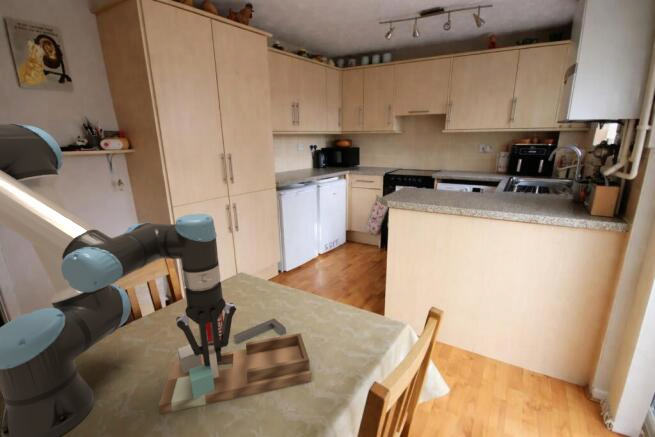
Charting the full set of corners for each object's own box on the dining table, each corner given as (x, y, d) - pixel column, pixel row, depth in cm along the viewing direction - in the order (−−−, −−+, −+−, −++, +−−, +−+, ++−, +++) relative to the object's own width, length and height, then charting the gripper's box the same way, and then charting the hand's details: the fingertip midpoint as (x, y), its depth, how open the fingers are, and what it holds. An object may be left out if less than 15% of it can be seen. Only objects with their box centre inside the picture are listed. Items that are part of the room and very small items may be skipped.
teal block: (193, 398, 69) (191, 381, 68) (191, 385, 73) (188, 369, 72) (214, 390, 72) (212, 374, 71) (211, 378, 75) (208, 362, 74)
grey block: (183, 374, 77) (181, 358, 76) (179, 363, 81) (177, 348, 79) (202, 366, 79) (200, 351, 78) (198, 356, 83) (196, 342, 82)
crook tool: (244, 352, 88) (243, 346, 88) (234, 341, 94) (233, 335, 93) (285, 333, 97) (285, 327, 96) (274, 323, 102) (274, 318, 102)
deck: (160, 414, 69) (156, 393, 67) (173, 370, 82) (170, 352, 80) (310, 381, 77) (309, 362, 76) (300, 346, 90) (299, 330, 89)
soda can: (217, 346, 91) (212, 306, 88) (195, 343, 93) (190, 304, 89) (229, 332, 98) (225, 294, 95) (208, 330, 99) (204, 293, 96)
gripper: (172, 298, 62) (186, 396, 68) (237, 283, 69) (245, 373, 74) (169, 284, 69) (183, 374, 74) (228, 271, 75) (237, 355, 81)
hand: (214, 374), depth 74 cm, fingers closed
